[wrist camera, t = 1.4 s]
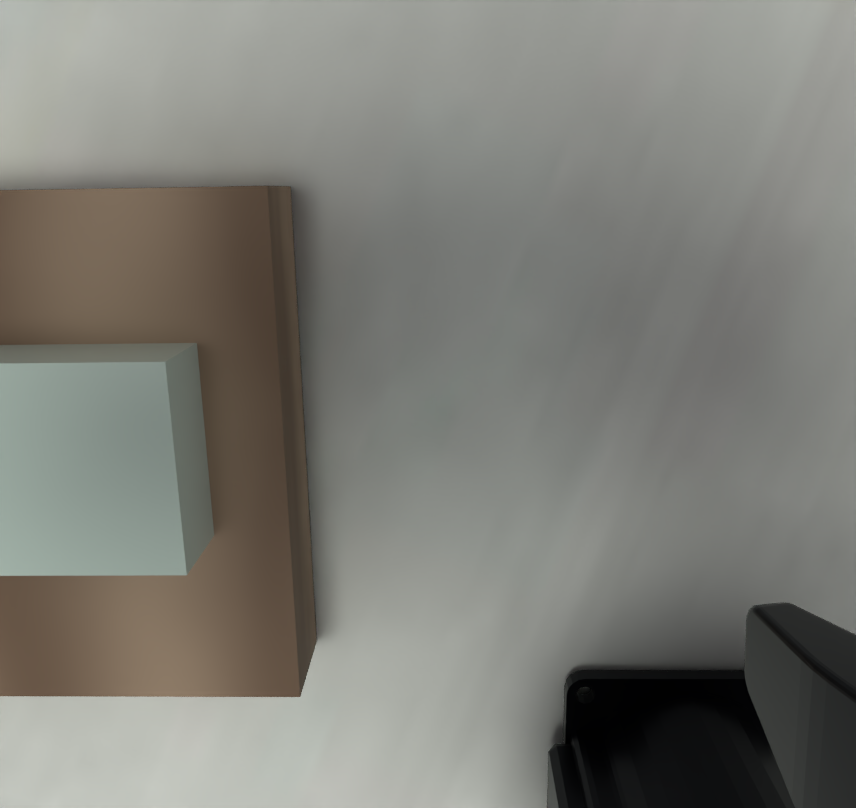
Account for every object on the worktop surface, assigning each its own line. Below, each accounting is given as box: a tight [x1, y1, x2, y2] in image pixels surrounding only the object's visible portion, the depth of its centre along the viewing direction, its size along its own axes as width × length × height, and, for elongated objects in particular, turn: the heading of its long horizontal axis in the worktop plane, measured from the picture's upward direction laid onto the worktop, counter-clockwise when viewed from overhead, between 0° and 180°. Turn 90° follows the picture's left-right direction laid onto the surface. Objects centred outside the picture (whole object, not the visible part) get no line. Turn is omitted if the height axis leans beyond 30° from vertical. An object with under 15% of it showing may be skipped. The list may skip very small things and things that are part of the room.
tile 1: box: [0, 343, 214, 576], centre depth 17 cm, size 4×4×2 cm
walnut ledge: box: [0, 186, 317, 697], centre depth 19 cm, size 12×12×2 cm
